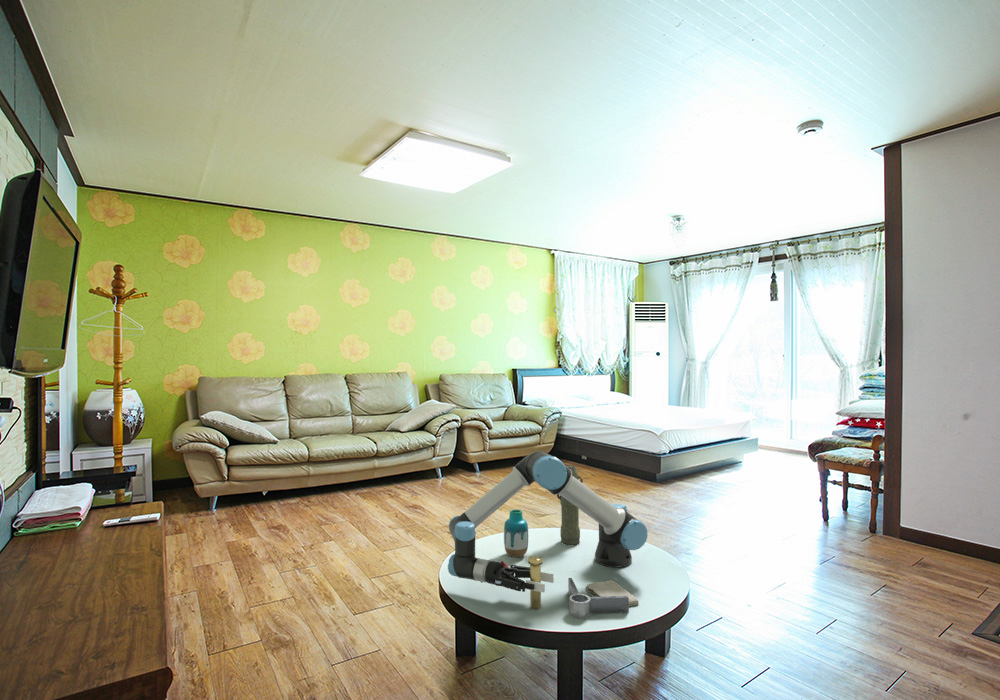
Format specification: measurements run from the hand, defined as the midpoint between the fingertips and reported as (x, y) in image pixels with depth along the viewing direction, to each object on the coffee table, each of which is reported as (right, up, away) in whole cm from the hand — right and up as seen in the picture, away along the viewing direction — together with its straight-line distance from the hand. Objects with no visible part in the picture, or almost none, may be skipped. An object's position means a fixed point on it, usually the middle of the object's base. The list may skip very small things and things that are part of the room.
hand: (548, 583), depth 174 cm
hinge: (+16, -9, +4) cm, 19 cm away
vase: (-9, -10, +49) cm, 51 cm away
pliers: (-18, -10, +28) cm, 35 cm away
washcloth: (+23, -10, +9) cm, 27 cm away
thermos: (+16, -10, +65) cm, 67 cm away
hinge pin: (-4, -9, +2) cm, 10 cm away
